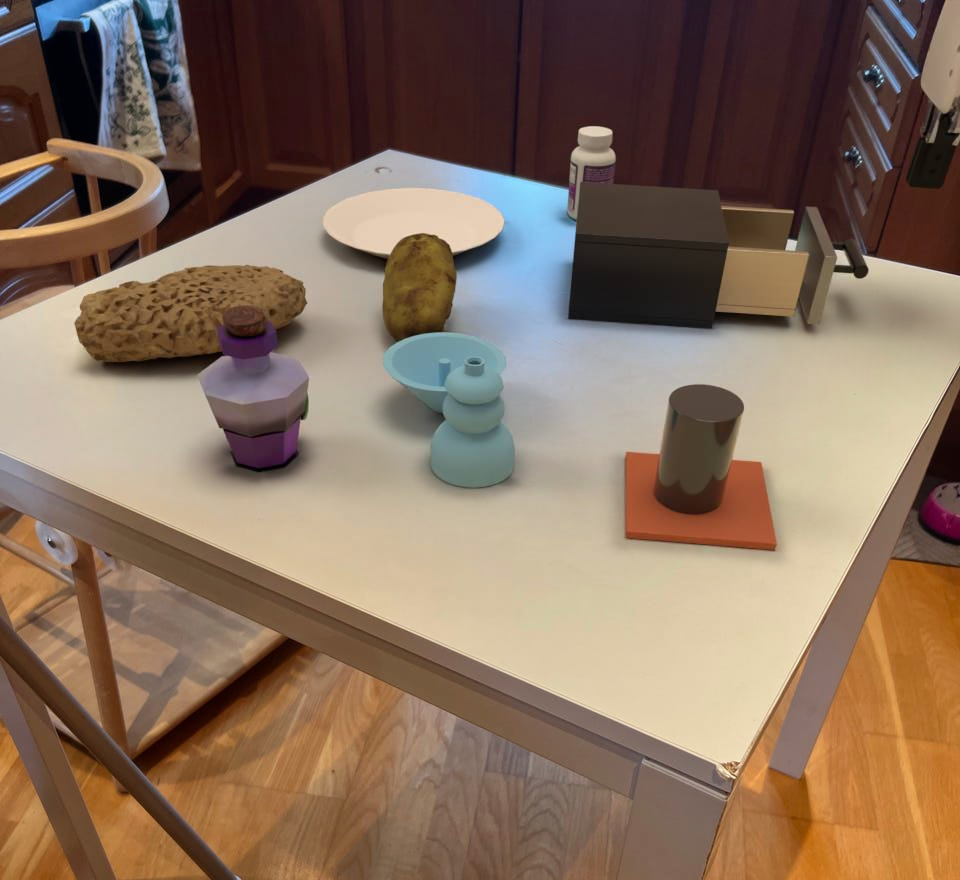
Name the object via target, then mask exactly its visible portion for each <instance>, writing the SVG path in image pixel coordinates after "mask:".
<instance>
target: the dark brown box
mask: <svg viewBox="0 0 960 880" xmlns="http://www.w3.org/2000/svg"><path fill="white" fill-rule="evenodd" d="M721 206H722V202H721V199H720V194H719V190H717V189H705V188H703V189H701V188H687V187H686V188H683V187H671V186H669V187H667V186H651V185H636V184H635V185H634V184H618V183H613V184H603V183H586V182H580V191H579V201H578V212H577V220H576V224H575V233H574V247H573V257H572V269H571V279H570V288H569V289H570V290H569V303H568V313H567V319H568V320H581V321H596V322H597V321H598V322H612V323H624V324H625V323H627V324H640V325H656V326H670V327H683V328H685V327H686V328H698V329H713V326H714V321H715V317H716V307H717V302H718V297H719V292H720V287H721V281H722V276H723V271H724V266H725V261H726V256H727V250H728V246H729V241H728V237H727V232H726V227H725V222H724V217H723V212H722V208H721Z"/></svg>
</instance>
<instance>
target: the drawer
mask: <svg viewBox="0 0 960 880" xmlns="http://www.w3.org/2000/svg"><path fill="white" fill-rule="evenodd" d="M721 208H722V212H723V217H724V222H725V227H726V232H727V237H728V241H729V246H728V250H727V256H726V261H725V266H724V271H723V276H722V281H721V287H720V292H719V297H718V302H717V307H716V312H717V313H718V312H719V313H730V314H731V313H732V314H745V315H746V314H747V315H762V316H776V317H777V316H779V317H789V318H790V317H792V318H794V316H795V312H796V308H797V304H798V300H799V302H800V306H801V309H802V312H803V315H804V318H805V322H806V324H807V325H820V322H821V318H822V315H823V311H824V308H825V304H826V300H827V297H828V293H829V289H830V285H831V282H832V278H833V274H834V273H836V274H837V273H839V274H853V277H855V279H858V280H860V279H861V280H862V279H864V278H866V277H867V276H868V274H869V267H868V264H867V263H866V260H865V258H864V255H863V253H862V252H861V249H860V247H859V245H858V242H857V241H856V239H854V238H846V239H845V240H844V241H843V242H842V241H841V242H840V241H839V242H838V241H831V238H830V236H829V233H828V231H827V228H826V226H825V223H824V221H823V217H822V216H821V214H820V210H819V209H818V207H817V206H805V209H804V211H803V216H802V220H801V224H800V227H799V232H798V236H797V241H796V245H795V249H794V250H792V249H791V250H790V249H787V245H788V241H789V237H790V232H791V229H792V224H793V220H794V215H795V211H794V209H779V208H765V207H750V206H749V207H747V206H734V205H733V206H731V205H721ZM836 251H843V253H844V255H845V257H846V260H847V262H848V264H847V265H846V264H837V260H838V256H837V253H836ZM716 312H715V313H716Z"/></svg>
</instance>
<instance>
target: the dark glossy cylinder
mask: <svg viewBox="0 0 960 880" xmlns="http://www.w3.org/2000/svg"><path fill="white" fill-rule="evenodd" d="M666 406H667V408H666V411H665V412H666V413H665V419H664V424H663V430H662V435H661V442H660V446H659V447H660V448H659V453H658V454H659V458H658V464H657V470H656V475H655V481H654V487H653V493H654V496H655V498H656V499H657V501H658V502H659V503H661V504H662V505H663V506H665V507H666V508H668V509H671V510H673V511H676V512H679V513H684V514H704V513H708V512H711V511H713V510H715V509H717V508H718V507H719V506H720V505H721V503H722V501H723V497H724V493H725V488H726V484H727V480H728V476H729V471H730V467H731V463H732V460H734V459H733V457H734V454H735V450H736V445H737V441H738V436H739V433H740V429H741V424H742V420H743V416H744V411H745V404H744V402H743V400H742V399H741V398H740V397H739V396H738V395H737V394H735V392H733V391H731V390H728V389H726V388H723V387H721V386H717V385H711V384H702V383H701V384H700V383H697V384H695V383H694V384H687V385H683V386H680V387H678V388H676V389H674V390H673V391H672V392H671V393H670V394H669V397H668V402H667V405H666Z"/></svg>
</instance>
